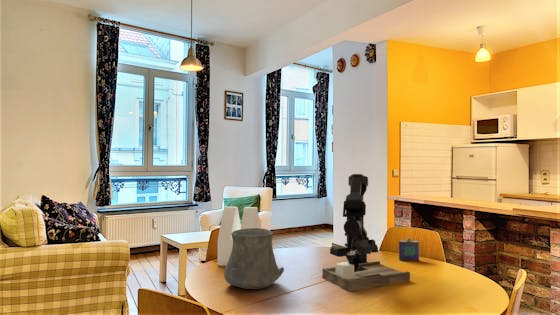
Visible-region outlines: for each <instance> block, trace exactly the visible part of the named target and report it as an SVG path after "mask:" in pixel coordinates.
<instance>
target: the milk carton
mask: <svg viewBox="0 0 560 315" xmlns="http://www.w3.org/2000/svg"><path fill="white" fill-rule="evenodd" d="M221 216H222V217H221V222H220V225H219V231H218V236H217V266H221V267H222V266H225V267H226V265H227V262H228V260H229V257H230V254H231V251H232V247H233V239H232V235H231V233H232V232H234V231H236V230H241V229H248V228H260V229H262V228H261V222H260V215H259V210H258V207H257V206H255V207H253V206H250V207H249V206H244V207H243V210H242V218H240V213H239V208H238V206H224V207H223V211H222V215H221Z"/></svg>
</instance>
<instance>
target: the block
mask: <svg viewBox="0 0 560 315" xmlns="http://www.w3.org/2000/svg"><path fill="white" fill-rule="evenodd" d="M335 267H336V274H337V275H339V276H341V277H344V278H346V279H347V278H353V277H354V265H352V264H350V263H349V262H348V261H345V262H338V263H337V262H336V263H335Z"/></svg>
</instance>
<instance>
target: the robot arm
mask: <svg viewBox="0 0 560 315" xmlns="http://www.w3.org/2000/svg"><path fill="white" fill-rule="evenodd" d="M348 186H349V190H350V192H349V194H348V195H345V196H346V197H345V200H344V201H343V207H342V208H343V210H342V217H344V218H346V221H345V223H344V224H343V230H344V236H345V237H346V243H345V242H344V246H341V245H334V246H331V247H330V249H329V253H330V255H332V256H335V257H338V258H339V257H340V258H341V257H345V258H346V260H347V262H348V263H350V264H352V265H354V272H356V271H357V268H358V265H359V264H361V263H369V262H370V261H368V255H370V254H371V253H378V252H379V247H378V245H377V244H376V240H375V239H370V238H369V236H368V232H367V230H366V228H365V227H364V226H365V225H364V220H365V219H364V217H365V216H366V209H367V207H366V206H367V205H366V203H365V201H364V195H365V193H366V192H367V188H368V187H369V177H368V176H366V175H364V174H362V173H352V174H351V175H349V176H348Z"/></svg>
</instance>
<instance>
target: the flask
mask: <svg viewBox="0 0 560 315" xmlns="http://www.w3.org/2000/svg"><path fill="white" fill-rule="evenodd" d="M398 259H399V261H401V262H419V261H420V242H419V241H418V240H412V238H411V237H407V239H402V240H399V241H398Z"/></svg>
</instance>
